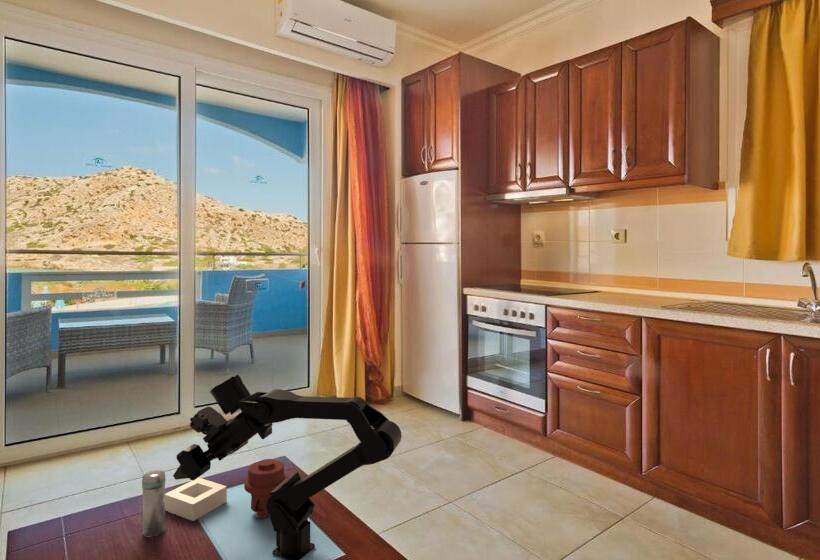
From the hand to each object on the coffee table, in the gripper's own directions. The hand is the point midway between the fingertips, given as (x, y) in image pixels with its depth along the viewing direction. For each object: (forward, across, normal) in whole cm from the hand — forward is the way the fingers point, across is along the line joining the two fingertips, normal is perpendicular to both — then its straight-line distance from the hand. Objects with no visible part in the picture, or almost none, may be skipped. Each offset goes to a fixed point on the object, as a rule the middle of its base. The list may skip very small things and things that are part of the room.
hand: (189, 468), depth 107 cm
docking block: (+14, -11, +8) cm, 19 cm away
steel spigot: (+16, +1, +7) cm, 17 cm away
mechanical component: (0, -12, +19) cm, 23 cm away
